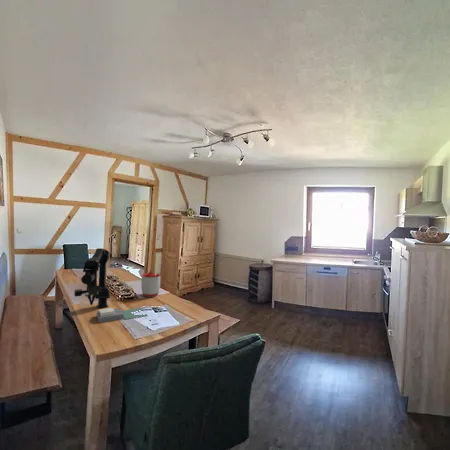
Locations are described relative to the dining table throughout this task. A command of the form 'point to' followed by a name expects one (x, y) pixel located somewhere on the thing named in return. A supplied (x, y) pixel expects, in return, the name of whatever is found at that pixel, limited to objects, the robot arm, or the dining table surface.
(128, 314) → the mat
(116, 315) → the plate
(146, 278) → the citrus juicer
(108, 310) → the tile
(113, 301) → the dining table surface
